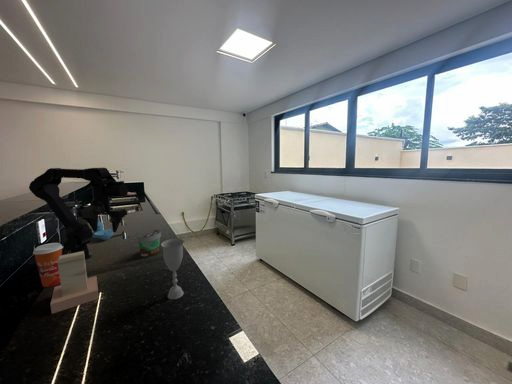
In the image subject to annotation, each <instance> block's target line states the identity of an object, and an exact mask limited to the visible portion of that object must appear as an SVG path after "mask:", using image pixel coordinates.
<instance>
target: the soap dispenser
mask: <svg viewBox="0 0 512 384" xmlns="http://www.w3.org/2000/svg"><path fill="white" fill-rule="evenodd" d="M92 233H93V236H92V239H97V238H98V239H101V240H102V241H108V240H109V239H110V238H111V237H112V236H113V235H114V234H115V233H114V232H113V228H112V229H111V228H109V229H105V227H104V223H103V222H101V221H100V220H98V225H97V231H96V232H94V231H92Z"/></svg>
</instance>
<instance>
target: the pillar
mask: <svg viewBox="0 0 512 384" xmlns="http://www.w3.org/2000/svg"><path fill="white" fill-rule="evenodd" d="M86 265H87V264H86V260H85V256H84V251H81V252H76V253H71V254H69V253H68V254H62V255H61V256H60V257H59V260H58V268H59V275H60V282H61V283H60V285H61V289H62V296H63V297H64V296H67V295H71V294H74V293H77V292H81V291H84V290H88V281H87V278H88V275H87V274H88V273H87V266H86Z"/></svg>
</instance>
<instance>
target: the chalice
mask: <svg viewBox="0 0 512 384" xmlns="http://www.w3.org/2000/svg"><path fill="white" fill-rule="evenodd" d="M184 243H185V241H184V240H183V239H182V238H172V239H170V238H169V239H167V240H165V241H162V242H161V244H160V245H161V246H160V247H162V253H163V254H162V256H163V261H164V264H165V265H166V267H167V269H168V270H169V271H170V272H172V275H171V276H172V281H171V282H172V285H173V286H172V287H171V288H170V289H169V292H168V293H167V298H168V299H169V300H177V299H180V298H181V297H183V295H184V294H185V293H184V291H183V289H182V287H181V286H180V285H178V281H179V280H178V279H177V277H178V274H177V271H178V270H179V268H180V266H181V263H182V260H183V257H184V250H183V247H184V246H183V245H184Z"/></svg>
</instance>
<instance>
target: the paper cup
mask: <svg viewBox="0 0 512 384" xmlns="http://www.w3.org/2000/svg"><path fill="white" fill-rule="evenodd" d="M62 245H63V244H61V243H60V242H51V243H46V244H41V245H39V246H37V247H35V248H34V249H33V252H32V254H33V255H34V258H35V262H36V266H37V270H38V273H39V279H40V282H41V285H42V287H43V288H51V287H56V286H58V285H60V284H61V282H60V275H59V268H58V260H59V257H60V256H61V255H63V249H64V248H63V246H62Z"/></svg>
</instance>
